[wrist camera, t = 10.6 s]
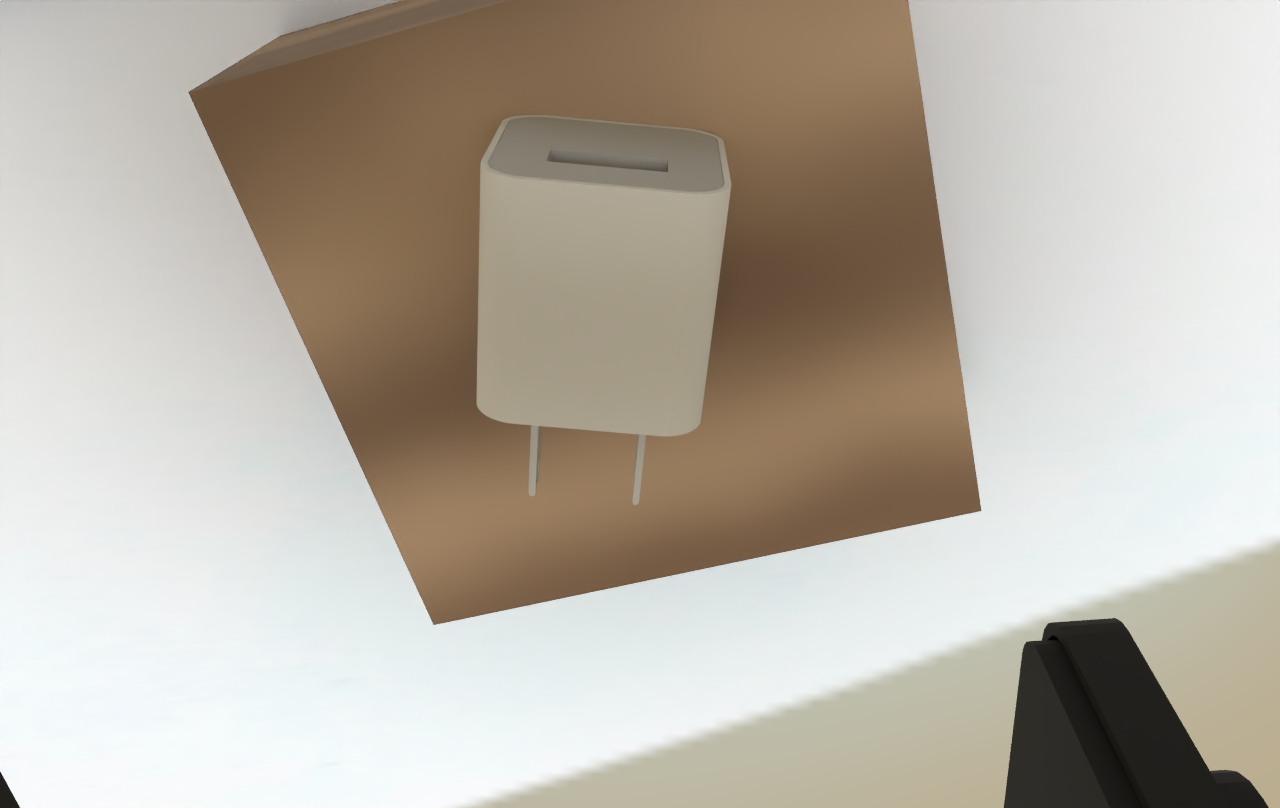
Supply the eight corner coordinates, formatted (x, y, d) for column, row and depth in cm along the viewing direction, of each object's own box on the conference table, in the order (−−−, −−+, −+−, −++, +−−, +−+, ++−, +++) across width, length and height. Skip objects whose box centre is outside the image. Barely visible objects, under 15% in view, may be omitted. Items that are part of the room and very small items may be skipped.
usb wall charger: (721, 131, 20) (734, 197, 17) (682, 449, 24) (686, 561, 20) (507, 111, 20) (473, 174, 17) (497, 433, 23) (468, 543, 20)
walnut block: (285, 33, 25) (188, 92, 20) (838, -128, 24) (892, -110, 18) (470, 487, 31) (433, 625, 26) (923, 385, 30) (981, 510, 24)
